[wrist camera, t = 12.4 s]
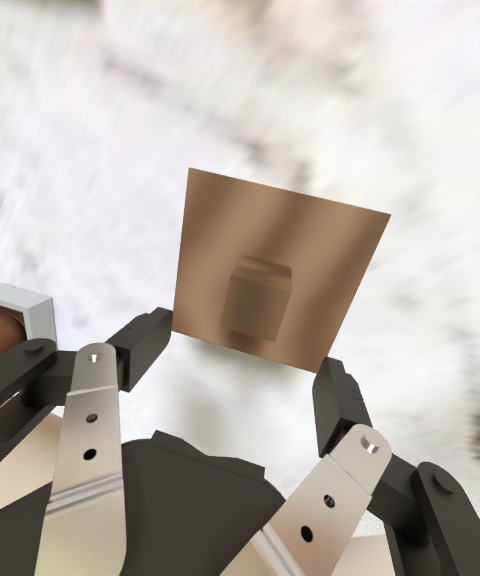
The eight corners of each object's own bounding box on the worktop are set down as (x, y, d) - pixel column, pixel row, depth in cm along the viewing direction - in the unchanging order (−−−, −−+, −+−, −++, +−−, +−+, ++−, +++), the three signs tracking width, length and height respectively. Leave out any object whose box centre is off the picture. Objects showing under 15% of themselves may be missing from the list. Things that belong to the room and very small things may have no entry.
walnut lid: (385, 212, 18) (427, 224, 13) (317, 365, 24) (326, 419, 19) (194, 168, 20) (155, 161, 14) (176, 324, 26) (144, 363, 20)
